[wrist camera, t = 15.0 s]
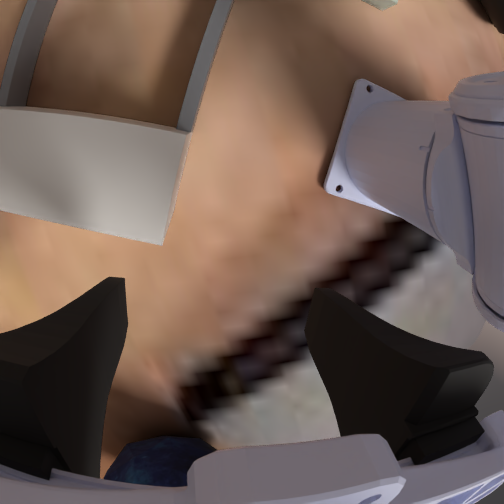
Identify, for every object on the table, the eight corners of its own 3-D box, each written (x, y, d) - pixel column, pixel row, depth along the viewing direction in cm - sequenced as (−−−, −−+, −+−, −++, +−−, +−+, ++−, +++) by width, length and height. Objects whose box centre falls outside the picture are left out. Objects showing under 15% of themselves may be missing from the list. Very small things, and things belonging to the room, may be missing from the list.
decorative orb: (89, 497, 25) (167, 594, 16) (59, 432, 20) (165, 584, 10) (182, 456, 35) (263, 533, 26) (191, 384, 30) (306, 485, 21)
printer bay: (244, -27, 14) (259, -73, 9) (174, 209, 20) (161, 245, 14) (67, -40, 11) (32, -75, 6) (7, 177, 17) (-45, 200, 11)
